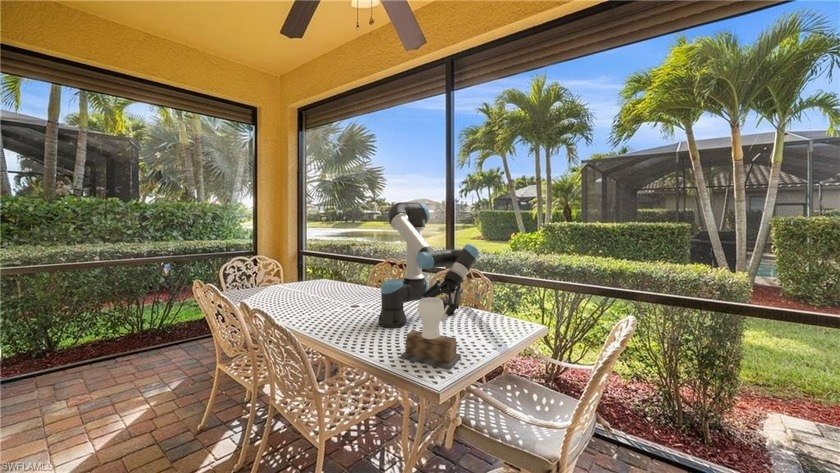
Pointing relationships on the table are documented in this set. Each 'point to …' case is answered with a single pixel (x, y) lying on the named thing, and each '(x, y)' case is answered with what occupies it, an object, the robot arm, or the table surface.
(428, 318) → the cup
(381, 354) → the table surface
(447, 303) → the pine cone
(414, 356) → the brown wooden block
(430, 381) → the table surface
